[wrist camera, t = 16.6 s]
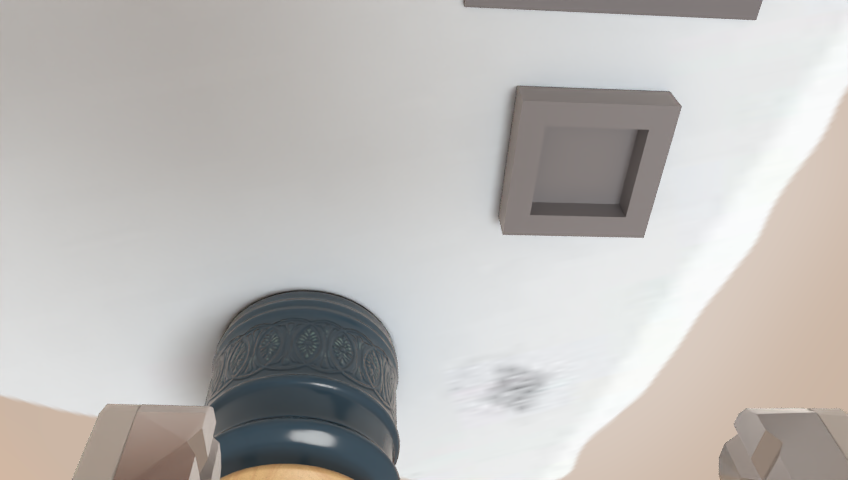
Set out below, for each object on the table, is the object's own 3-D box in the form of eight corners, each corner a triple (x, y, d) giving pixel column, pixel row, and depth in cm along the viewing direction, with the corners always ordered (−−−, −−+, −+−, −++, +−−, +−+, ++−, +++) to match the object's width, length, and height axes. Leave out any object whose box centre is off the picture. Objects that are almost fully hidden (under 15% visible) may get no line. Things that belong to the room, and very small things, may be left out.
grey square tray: (498, 216, 46) (502, 234, 45) (517, 86, 41) (522, 100, 40) (634, 219, 47) (643, 237, 46) (669, 91, 42) (681, 106, 40)
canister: (247, 262, 48) (190, 493, 33) (426, 317, 51) (443, 547, 37) (198, 389, 54) (133, 627, 40) (359, 430, 58) (352, 662, 44)
